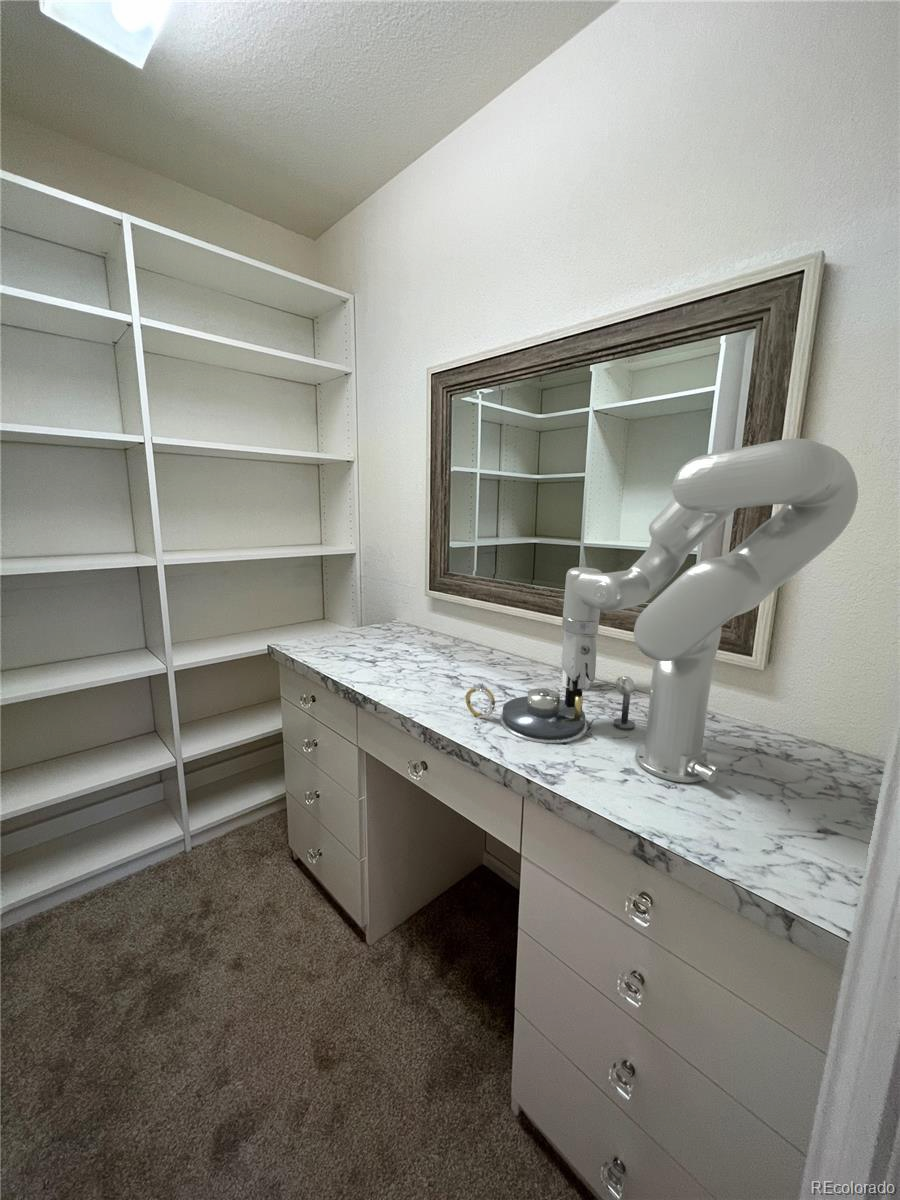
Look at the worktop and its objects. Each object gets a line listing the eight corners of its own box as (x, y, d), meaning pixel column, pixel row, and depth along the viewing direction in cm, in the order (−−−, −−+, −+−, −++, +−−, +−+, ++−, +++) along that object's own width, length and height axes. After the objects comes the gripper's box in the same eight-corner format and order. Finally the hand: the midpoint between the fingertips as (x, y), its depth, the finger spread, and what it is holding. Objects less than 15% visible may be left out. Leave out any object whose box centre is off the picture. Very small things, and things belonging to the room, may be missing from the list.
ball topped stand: (639, 728, 103) (643, 678, 101) (623, 731, 101) (628, 681, 99) (624, 720, 107) (628, 672, 105) (609, 723, 105) (613, 674, 103)
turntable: (574, 747, 93) (576, 713, 91) (490, 726, 101) (491, 696, 99) (592, 713, 108) (594, 684, 107) (517, 698, 116) (519, 671, 115)
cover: (554, 720, 100) (555, 701, 99) (522, 713, 103) (523, 695, 102) (562, 708, 106) (563, 690, 105) (532, 702, 109) (533, 685, 108)
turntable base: (605, 733, 100) (606, 732, 100) (530, 750, 92) (530, 748, 92) (552, 701, 117) (552, 699, 117) (485, 712, 109) (485, 711, 109)
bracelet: (463, 715, 108) (463, 682, 106) (471, 711, 110) (472, 678, 109) (488, 724, 103) (489, 690, 102) (496, 719, 106) (497, 686, 105)
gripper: (610, 635, 93) (601, 721, 97) (586, 617, 107) (579, 692, 111) (572, 634, 93) (564, 721, 96) (554, 616, 107) (548, 692, 111)
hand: (572, 705), depth 104 cm, fingers closed
